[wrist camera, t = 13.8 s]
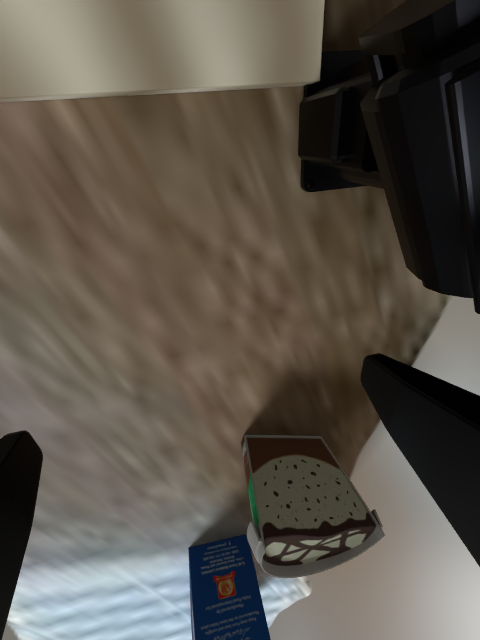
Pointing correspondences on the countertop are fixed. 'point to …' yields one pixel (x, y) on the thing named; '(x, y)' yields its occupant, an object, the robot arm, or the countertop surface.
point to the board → (155, 46)
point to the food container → (303, 507)
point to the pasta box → (225, 592)
